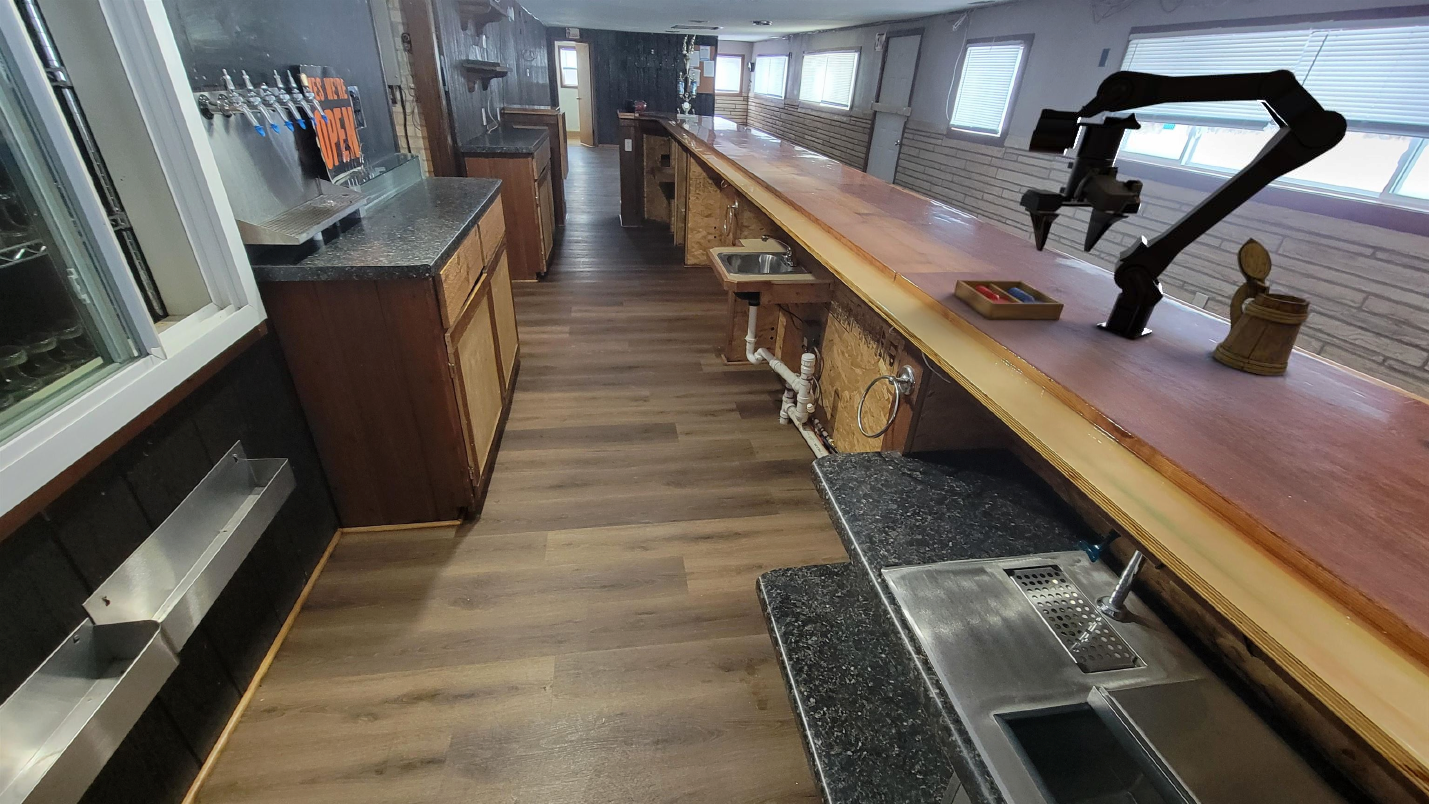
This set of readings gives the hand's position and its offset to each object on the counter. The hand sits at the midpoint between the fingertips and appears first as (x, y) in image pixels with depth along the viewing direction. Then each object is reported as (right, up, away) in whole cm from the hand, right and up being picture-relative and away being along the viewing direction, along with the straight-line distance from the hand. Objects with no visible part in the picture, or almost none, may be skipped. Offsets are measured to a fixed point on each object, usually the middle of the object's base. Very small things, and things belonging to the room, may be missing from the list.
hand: (1062, 251), depth 102 cm
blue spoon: (-3, -8, +8) cm, 12 cm away
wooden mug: (+23, -20, -9) cm, 32 cm away
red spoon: (-9, -8, +8) cm, 15 cm away
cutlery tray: (-6, -8, +9) cm, 14 cm away
